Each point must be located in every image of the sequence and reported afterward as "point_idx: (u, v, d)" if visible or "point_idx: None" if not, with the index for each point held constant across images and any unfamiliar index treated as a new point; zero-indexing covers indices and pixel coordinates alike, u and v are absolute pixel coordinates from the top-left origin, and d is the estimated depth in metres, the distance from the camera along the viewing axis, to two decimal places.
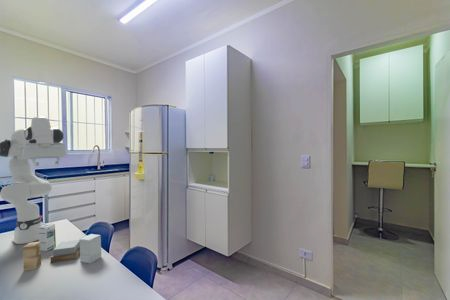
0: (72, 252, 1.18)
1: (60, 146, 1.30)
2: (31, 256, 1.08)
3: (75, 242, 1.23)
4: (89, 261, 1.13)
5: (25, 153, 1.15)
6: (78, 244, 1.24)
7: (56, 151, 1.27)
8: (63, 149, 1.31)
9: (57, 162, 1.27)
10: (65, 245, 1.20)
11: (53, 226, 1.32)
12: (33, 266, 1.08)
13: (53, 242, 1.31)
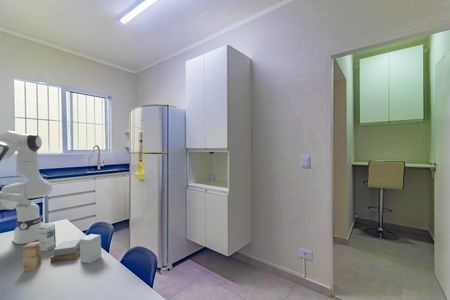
0: (72, 252, 1.18)
1: (2, 201, 1.03)
2: (31, 256, 1.08)
3: (75, 242, 1.24)
4: (89, 261, 1.13)
5: (8, 209, 1.15)
6: (78, 244, 1.24)
7: (10, 203, 1.06)
8: (8, 201, 1.04)
9: (28, 203, 1.11)
10: (65, 245, 1.21)
11: (53, 226, 1.32)
12: (33, 266, 1.08)
13: (53, 242, 1.31)
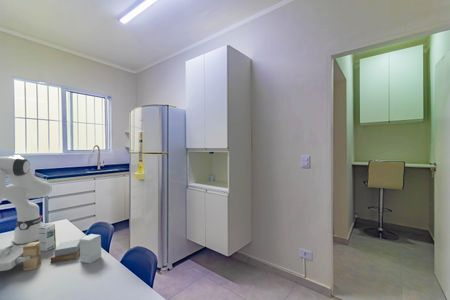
0: (74, 251, 1.19)
1: None
2: (31, 256, 1.08)
3: (76, 242, 1.24)
4: (89, 261, 1.13)
5: None
6: (79, 243, 1.25)
7: None
8: None
9: None
10: (66, 245, 1.21)
11: (53, 226, 1.32)
12: (33, 266, 1.08)
13: (53, 242, 1.31)
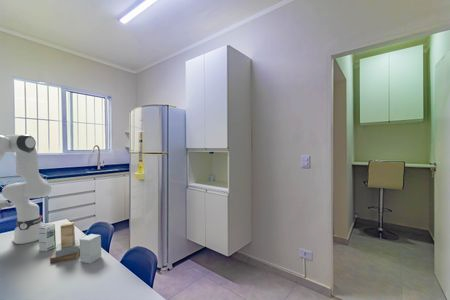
0: (76, 251, 1.20)
1: None
2: (68, 234, 1.19)
3: (75, 242, 1.24)
4: (89, 261, 1.13)
5: None
6: None
7: None
8: None
9: None
10: None
11: (53, 226, 1.32)
12: (69, 243, 1.19)
13: (53, 242, 1.31)
